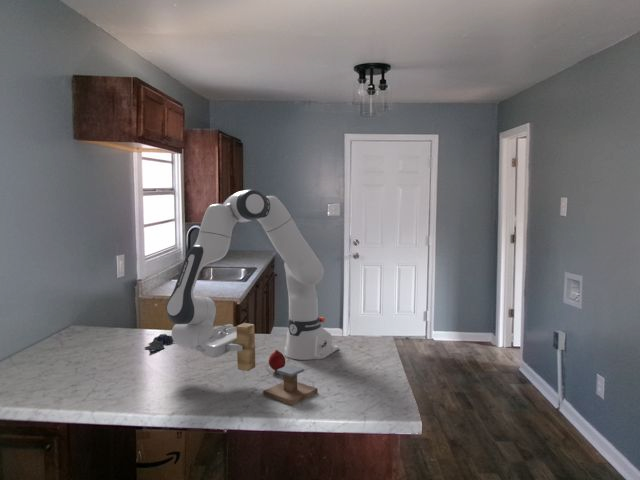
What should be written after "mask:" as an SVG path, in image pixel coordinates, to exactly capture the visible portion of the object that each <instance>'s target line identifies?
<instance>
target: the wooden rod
mask: <svg viewBox="0 0 640 480" xmlns="http://www.w3.org/2000/svg"><path fill="white" fill-rule="evenodd" d="M235 327H236V331H237V344H243V345H244V350H242V351H236V354H237V356H236V358H237V359H236V361H237V370H240V371H246V372H249V371H251V370H253V369H255V368H256V342H255V339H256V338H255V337H256V335H255V324H253V323H247V322H243V323H241V324H238V325H236V326H235Z"/></svg>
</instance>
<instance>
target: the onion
mask: <svg viewBox="0 0 640 480" xmlns="http://www.w3.org/2000/svg"><path fill="white" fill-rule="evenodd" d="M268 365H269V366H270V368H271V369H272V370H274V371H275V372H276V373H277V369H280V368H282V367H285V366H286V357H285V355H284V354H283V353H282V352H281V351H279V350H278V348H275V350H274V352H273V353H271V354H270V355H269V358H268Z"/></svg>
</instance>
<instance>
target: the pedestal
mask: <svg viewBox="0 0 640 480" xmlns="http://www.w3.org/2000/svg"><path fill="white" fill-rule="evenodd" d="M304 372H305V368H302V367H299V366H297V365H296V366H295V365H293V364H287V365H285V366H284V367H282V368H280V369H277V372H276V373H277V374H280V375H283V381H282V382H280V383H277V384H275V385H273V386H271V387H268V388H267V389H266V388H265V389H264V390H262V396H264V397H267V398H270V399H272V400H275V401H279V402H281V403H285V404H287V405H289V406H294V405H296V404H298V403H300V402H302V401H304V400H306V399H309V398H310V397H313V396H314V395H317V394H318V391H319V389H318V388H317V387H315V386H313V385H312V386H311V385H308V384H304V383H301V382H298V375H299V374H300V373H304Z"/></svg>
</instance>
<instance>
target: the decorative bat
mask: <svg viewBox="0 0 640 480" xmlns="http://www.w3.org/2000/svg"><path fill="white" fill-rule="evenodd" d="M173 343H175V342H174V341H173V339H172V335H168V334H166V333H161V334H159V335H158V336H154V338H153V340H152V342H149V343H148V346H145V347H144V349H146V350H147V351H149V353H152V352H159V351H163V350H165V347H164V344H165V345H173Z"/></svg>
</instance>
